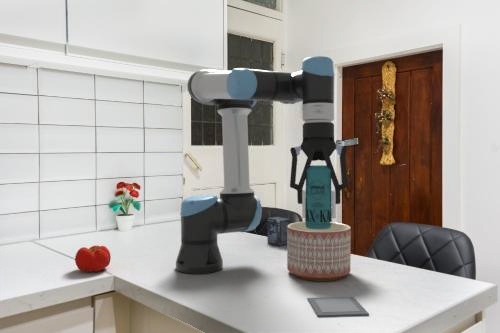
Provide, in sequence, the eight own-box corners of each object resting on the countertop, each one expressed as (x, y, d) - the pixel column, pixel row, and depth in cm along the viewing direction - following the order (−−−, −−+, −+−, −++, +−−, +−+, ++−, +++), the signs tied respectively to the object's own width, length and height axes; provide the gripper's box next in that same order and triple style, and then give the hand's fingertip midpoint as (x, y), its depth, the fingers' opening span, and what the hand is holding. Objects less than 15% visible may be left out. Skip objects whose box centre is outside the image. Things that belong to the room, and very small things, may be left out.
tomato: (77, 276, 135) (77, 252, 135) (73, 268, 145) (73, 245, 144) (114, 272, 140) (113, 248, 140) (107, 264, 149) (107, 242, 149)
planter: (336, 287, 124) (337, 234, 124) (276, 276, 135) (276, 227, 134) (358, 271, 141) (359, 224, 140) (303, 263, 151) (303, 219, 150)
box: (267, 243, 182) (267, 217, 182) (277, 241, 186) (277, 216, 185) (280, 246, 176) (280, 220, 176) (290, 244, 180) (290, 218, 179)
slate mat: (317, 316, 102) (317, 314, 102) (307, 299, 114) (307, 297, 114) (368, 315, 103) (369, 313, 103) (353, 298, 115) (353, 296, 115)
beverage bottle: (302, 231, 111) (302, 151, 111) (329, 231, 112) (328, 151, 111) (307, 236, 105) (307, 151, 105) (335, 235, 105) (335, 150, 105)
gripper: (277, 121, 105) (277, 219, 106) (361, 120, 103) (361, 220, 103) (279, 124, 113) (279, 215, 113) (357, 122, 110) (358, 215, 111)
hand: (318, 217), depth 108 cm, fingers closed on beverage bottle, 6 cm apart
